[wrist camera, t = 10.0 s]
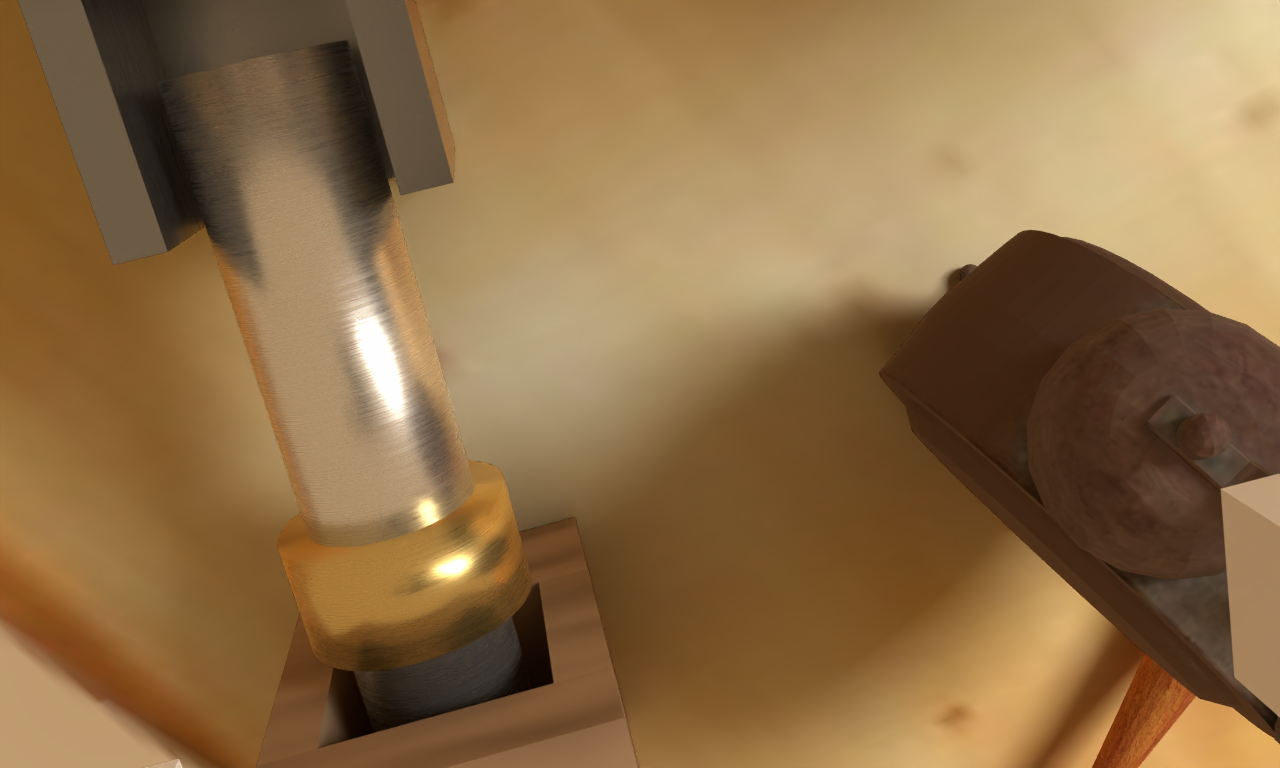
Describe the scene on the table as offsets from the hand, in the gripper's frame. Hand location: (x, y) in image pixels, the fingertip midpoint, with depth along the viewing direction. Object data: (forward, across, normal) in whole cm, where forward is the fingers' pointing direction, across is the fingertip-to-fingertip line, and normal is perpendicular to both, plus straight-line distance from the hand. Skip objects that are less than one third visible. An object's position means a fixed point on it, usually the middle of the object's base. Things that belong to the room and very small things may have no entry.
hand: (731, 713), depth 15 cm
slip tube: (+20, -6, -1) cm, 21 cm away
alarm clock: (+25, +13, -7) cm, 29 cm away
